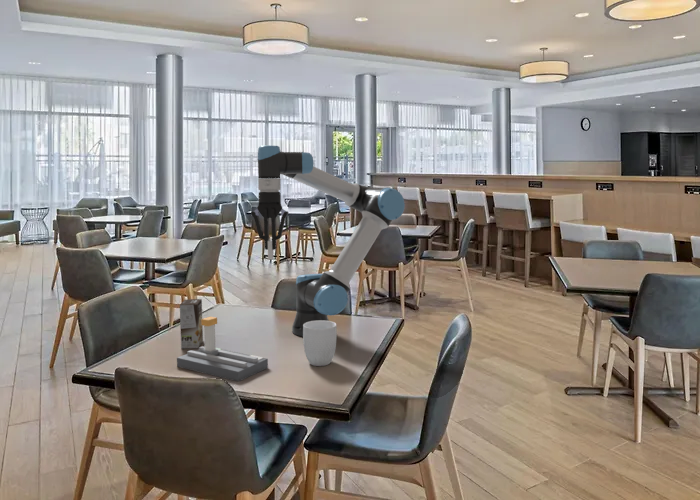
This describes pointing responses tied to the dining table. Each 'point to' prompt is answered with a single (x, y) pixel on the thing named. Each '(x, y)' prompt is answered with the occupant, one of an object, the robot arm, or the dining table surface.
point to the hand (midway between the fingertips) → (270, 258)
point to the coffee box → (191, 323)
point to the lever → (209, 335)
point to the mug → (319, 341)
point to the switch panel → (223, 363)
